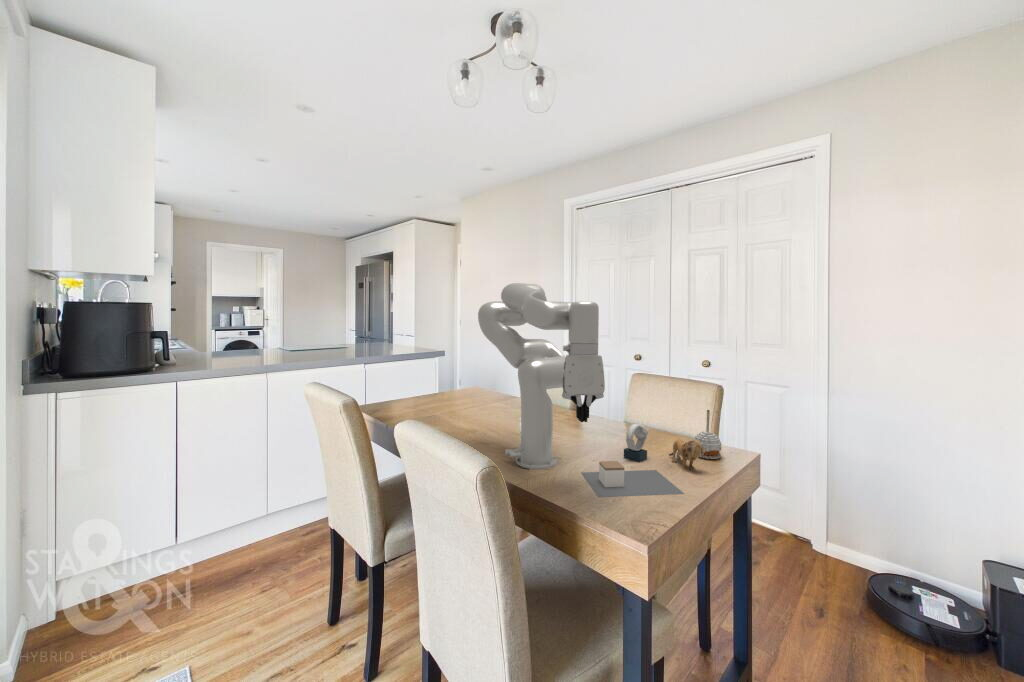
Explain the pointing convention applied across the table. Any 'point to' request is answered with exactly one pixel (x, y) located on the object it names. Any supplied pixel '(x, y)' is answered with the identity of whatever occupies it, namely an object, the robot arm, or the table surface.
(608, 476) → the block
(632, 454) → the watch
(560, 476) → the table surface
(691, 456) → the lion figurine
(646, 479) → the mat
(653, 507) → the table surface
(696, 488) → the table surface
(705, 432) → the decorative ornament
